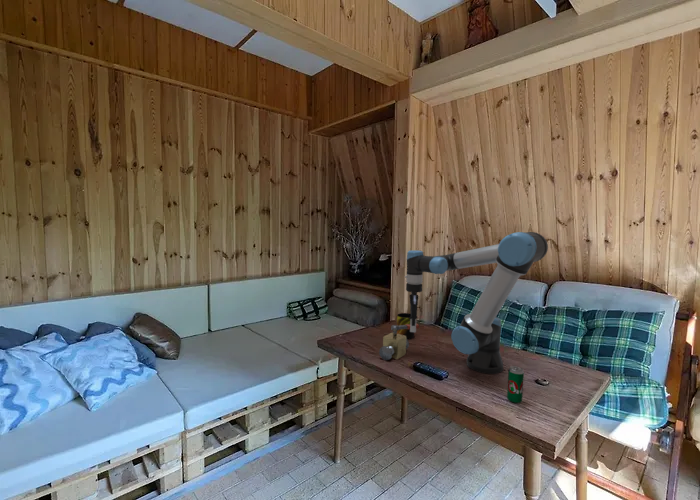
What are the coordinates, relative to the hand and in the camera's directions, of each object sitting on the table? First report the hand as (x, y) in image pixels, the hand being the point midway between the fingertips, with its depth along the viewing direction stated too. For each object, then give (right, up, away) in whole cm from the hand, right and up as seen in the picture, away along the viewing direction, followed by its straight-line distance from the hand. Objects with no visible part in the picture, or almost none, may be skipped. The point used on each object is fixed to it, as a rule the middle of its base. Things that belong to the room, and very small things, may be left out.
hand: (412, 331), depth 163 cm
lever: (-4, -2, +1) cm, 4 cm away
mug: (-1, -9, +28) cm, 29 cm away
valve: (-9, -11, +1) cm, 14 cm away
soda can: (+30, -16, -40) cm, 52 cm away
